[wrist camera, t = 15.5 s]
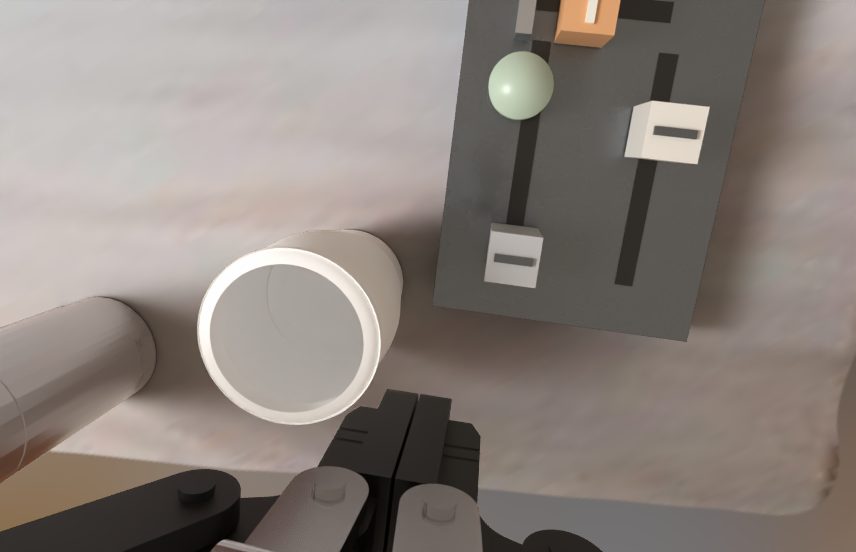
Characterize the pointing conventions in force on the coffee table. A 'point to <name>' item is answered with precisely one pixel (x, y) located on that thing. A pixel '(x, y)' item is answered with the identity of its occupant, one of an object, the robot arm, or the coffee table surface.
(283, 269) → the jar
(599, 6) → the tan box with strip
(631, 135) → the ivory slider
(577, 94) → the panel
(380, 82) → the coffee table surface
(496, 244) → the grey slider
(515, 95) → the pale green dome
